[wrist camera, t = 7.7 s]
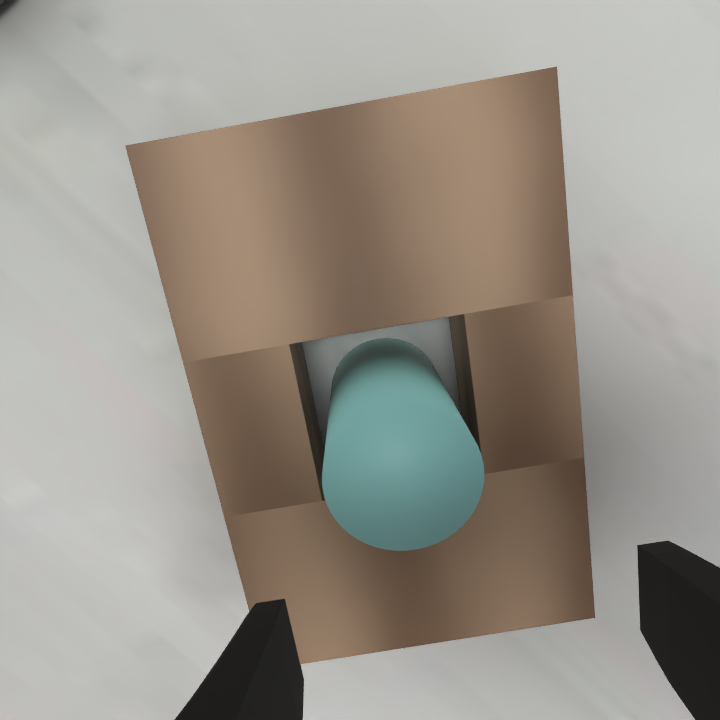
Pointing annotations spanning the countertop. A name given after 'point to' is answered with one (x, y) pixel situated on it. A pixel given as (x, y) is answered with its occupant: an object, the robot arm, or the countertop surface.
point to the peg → (397, 450)
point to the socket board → (374, 311)
